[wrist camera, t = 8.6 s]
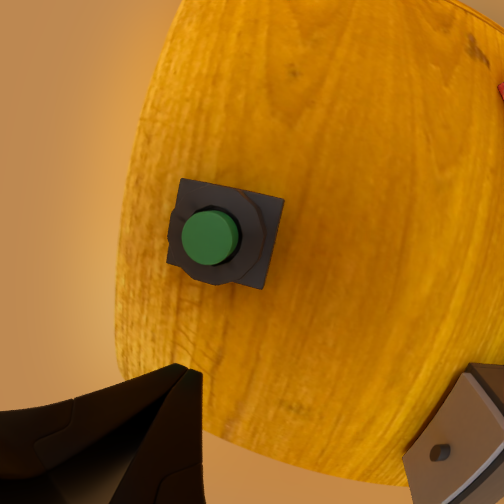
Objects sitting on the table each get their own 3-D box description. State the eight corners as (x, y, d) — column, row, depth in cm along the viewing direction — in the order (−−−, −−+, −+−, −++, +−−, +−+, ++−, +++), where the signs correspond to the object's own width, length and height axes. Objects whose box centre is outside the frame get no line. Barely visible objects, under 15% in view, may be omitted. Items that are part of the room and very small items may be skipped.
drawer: (392, 457, 19) (406, 523, 10) (452, 371, 17) (498, 438, 8) (461, 452, 18) (482, 502, 9) (516, 374, 15) (556, 420, 7)
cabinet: (406, 455, 20) (424, 529, 9) (469, 362, 17) (526, 434, 7) (468, 449, 18) (492, 505, 8) (524, 366, 16) (572, 416, 5)
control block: (264, 286, 19) (258, 298, 16) (171, 260, 20) (154, 268, 17) (285, 199, 18) (282, 198, 15) (185, 178, 18) (169, 175, 16)
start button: (233, 265, 17) (226, 271, 15) (187, 253, 17) (177, 257, 16) (243, 216, 16) (237, 218, 15) (196, 205, 16) (186, 206, 15)
